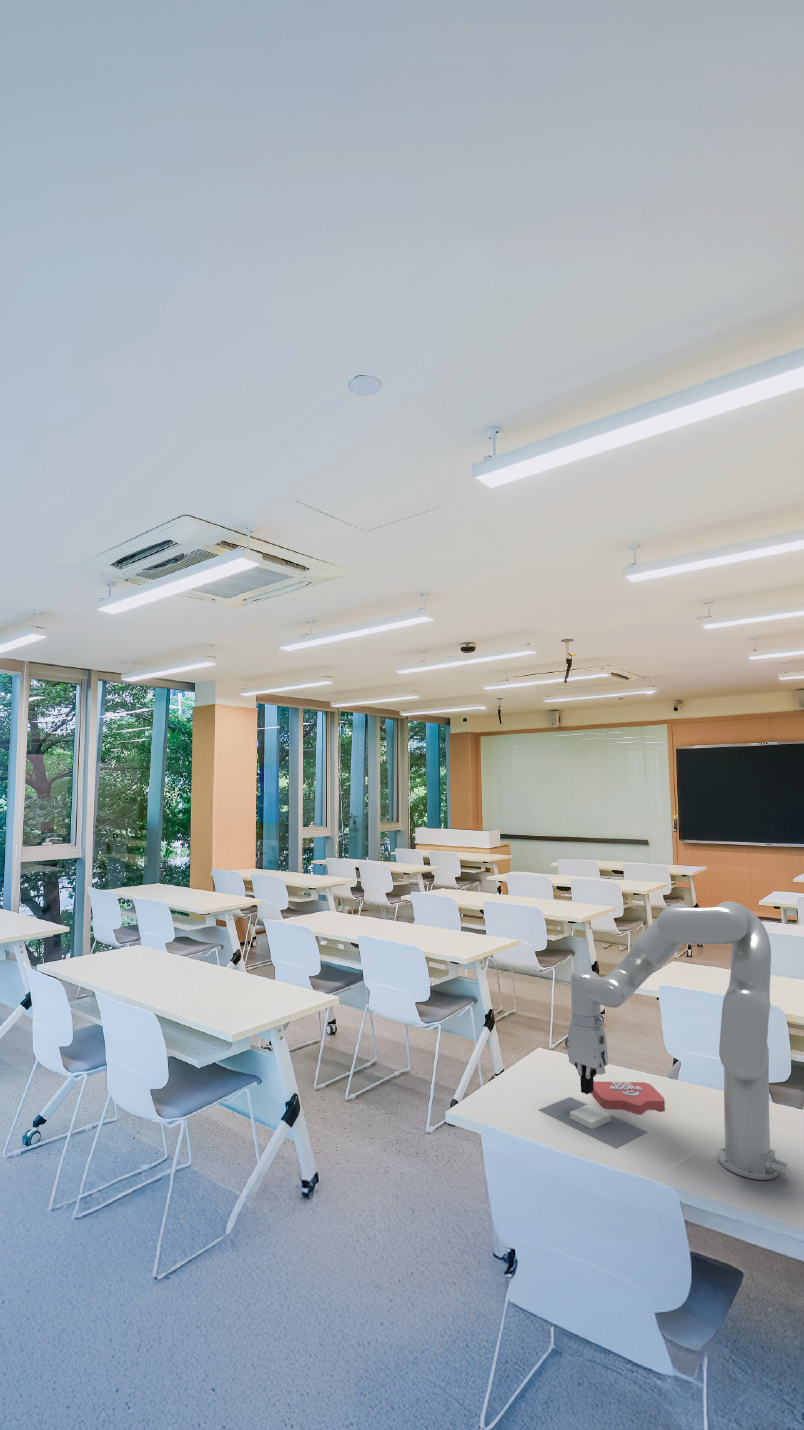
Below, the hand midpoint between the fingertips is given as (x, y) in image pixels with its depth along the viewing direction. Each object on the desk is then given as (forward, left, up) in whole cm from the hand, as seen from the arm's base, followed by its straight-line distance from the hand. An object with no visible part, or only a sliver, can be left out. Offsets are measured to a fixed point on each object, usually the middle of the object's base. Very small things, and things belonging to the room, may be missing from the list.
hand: (587, 1092), depth 178 cm
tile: (-5, 0, -6) cm, 7 cm away
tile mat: (-2, 0, -7) cm, 7 cm away
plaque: (-1, -18, -8) cm, 20 cm away
